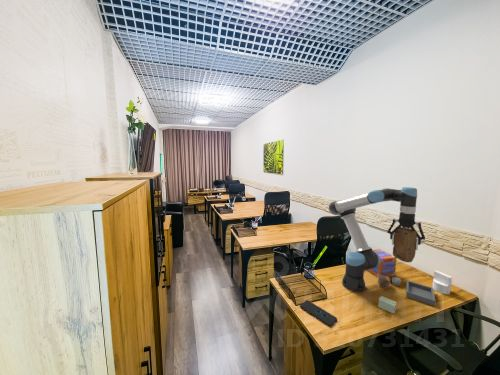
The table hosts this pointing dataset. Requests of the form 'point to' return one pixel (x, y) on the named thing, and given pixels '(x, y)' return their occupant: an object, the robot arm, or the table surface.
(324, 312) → the smart home device
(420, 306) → the table surface
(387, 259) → the game box
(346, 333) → the table surface
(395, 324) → the table surface
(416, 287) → the tray
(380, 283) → the walnut cube
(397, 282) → the grey puck
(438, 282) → the white phone stand
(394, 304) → the sage brick
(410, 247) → the block
